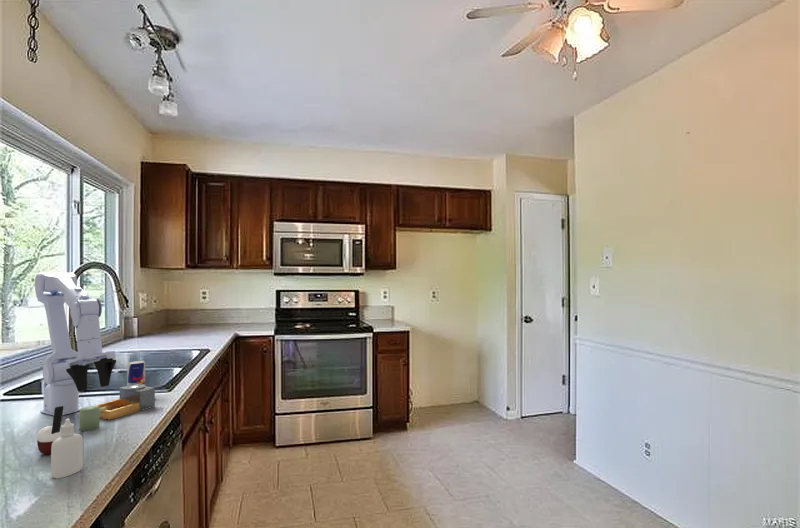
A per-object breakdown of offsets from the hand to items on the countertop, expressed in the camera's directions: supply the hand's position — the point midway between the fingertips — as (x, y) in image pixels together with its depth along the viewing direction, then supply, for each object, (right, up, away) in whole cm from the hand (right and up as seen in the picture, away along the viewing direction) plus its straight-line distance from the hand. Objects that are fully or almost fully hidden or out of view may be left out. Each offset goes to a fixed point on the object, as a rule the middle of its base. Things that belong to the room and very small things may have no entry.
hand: (93, 388), depth 128 cm
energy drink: (-5, -11, +29) cm, 31 cm away
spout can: (-1, -11, 0) cm, 11 cm away
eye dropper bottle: (+13, -11, -28) cm, 33 cm away
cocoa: (+1, -11, -17) cm, 20 cm away
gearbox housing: (-1, -11, +14) cm, 18 cm away
